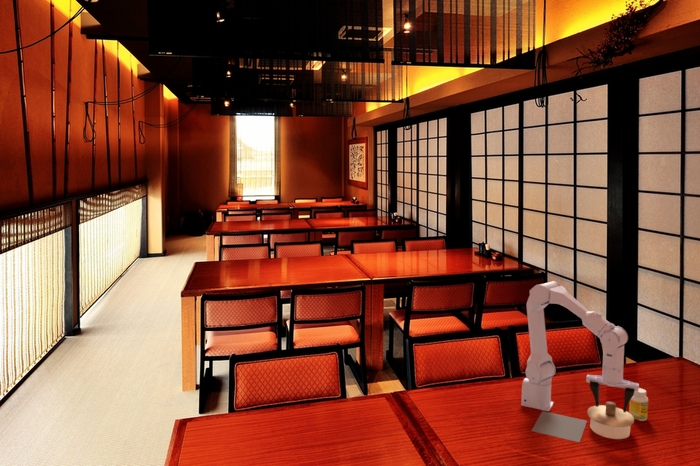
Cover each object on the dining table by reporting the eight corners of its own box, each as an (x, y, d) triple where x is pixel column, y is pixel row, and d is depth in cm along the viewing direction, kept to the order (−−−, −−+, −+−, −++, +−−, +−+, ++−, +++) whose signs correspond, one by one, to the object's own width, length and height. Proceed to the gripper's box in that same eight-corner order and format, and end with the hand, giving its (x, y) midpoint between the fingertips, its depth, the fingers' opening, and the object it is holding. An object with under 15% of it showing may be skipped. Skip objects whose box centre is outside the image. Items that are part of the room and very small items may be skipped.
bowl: (588, 435, 162) (588, 419, 161) (593, 420, 171) (593, 406, 170) (628, 444, 156) (629, 428, 155) (630, 429, 165) (631, 414, 165)
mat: (531, 432, 163) (531, 430, 163) (542, 412, 177) (542, 410, 177) (579, 443, 156) (579, 442, 156) (587, 422, 170) (587, 420, 170)
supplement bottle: (634, 412, 176) (635, 385, 175) (650, 418, 172) (652, 390, 170) (625, 416, 173) (626, 389, 172) (641, 423, 169) (643, 394, 168)
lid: (584, 420, 161) (585, 406, 160) (590, 404, 172) (591, 391, 171) (631, 430, 154) (632, 416, 153) (635, 413, 165) (636, 400, 164)
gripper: (585, 366, 161) (583, 407, 163) (638, 375, 154) (636, 418, 155) (588, 359, 167) (587, 399, 169) (640, 367, 160) (637, 409, 161)
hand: (610, 408), depth 162 cm, fingers open, 7 cm apart
